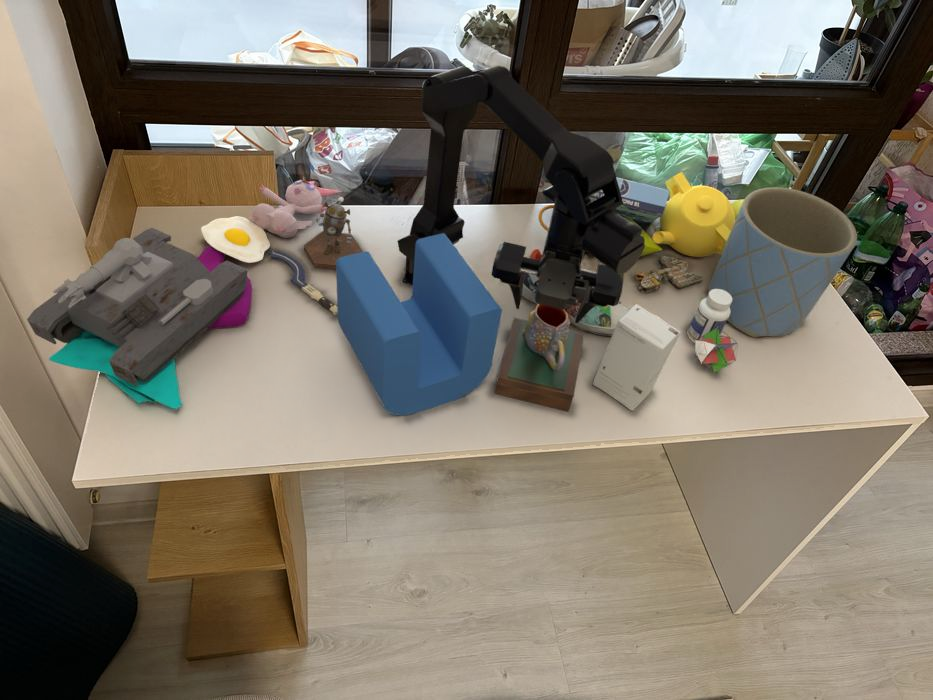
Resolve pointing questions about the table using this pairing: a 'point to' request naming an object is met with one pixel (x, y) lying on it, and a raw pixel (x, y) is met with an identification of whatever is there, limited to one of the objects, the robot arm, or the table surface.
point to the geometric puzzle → (715, 350)
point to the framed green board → (538, 371)
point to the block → (419, 327)
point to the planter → (781, 259)
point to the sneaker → (593, 321)
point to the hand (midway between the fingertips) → (547, 314)
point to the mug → (547, 333)
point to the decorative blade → (300, 276)
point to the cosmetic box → (635, 356)
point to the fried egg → (237, 238)
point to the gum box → (639, 200)
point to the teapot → (695, 219)
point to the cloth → (96, 355)
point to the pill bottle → (710, 314)
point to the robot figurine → (332, 238)
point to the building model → (667, 275)
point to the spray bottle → (242, 306)
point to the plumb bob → (649, 243)
